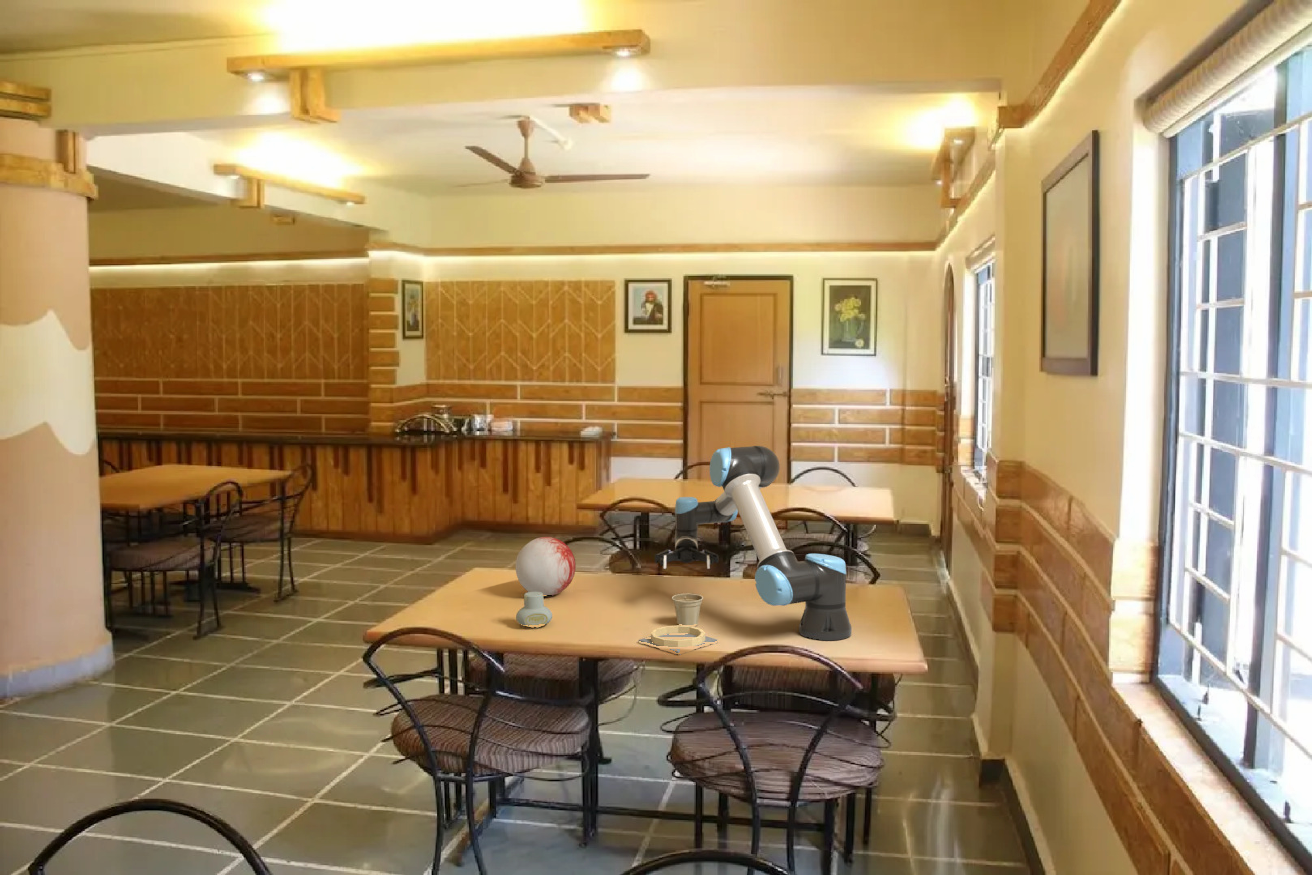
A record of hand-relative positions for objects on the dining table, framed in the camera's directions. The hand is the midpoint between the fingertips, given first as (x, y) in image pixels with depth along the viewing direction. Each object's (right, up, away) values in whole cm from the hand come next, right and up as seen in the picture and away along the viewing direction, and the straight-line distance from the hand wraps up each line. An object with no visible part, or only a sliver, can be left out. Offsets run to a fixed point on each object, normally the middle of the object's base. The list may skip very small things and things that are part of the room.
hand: (686, 564), depth 323 cm
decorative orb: (-47, -14, +30) cm, 57 cm away
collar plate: (-3, -19, -27) cm, 33 cm away
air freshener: (-47, -18, -7) cm, 50 cm away
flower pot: (0, -18, -8) cm, 20 cm away
